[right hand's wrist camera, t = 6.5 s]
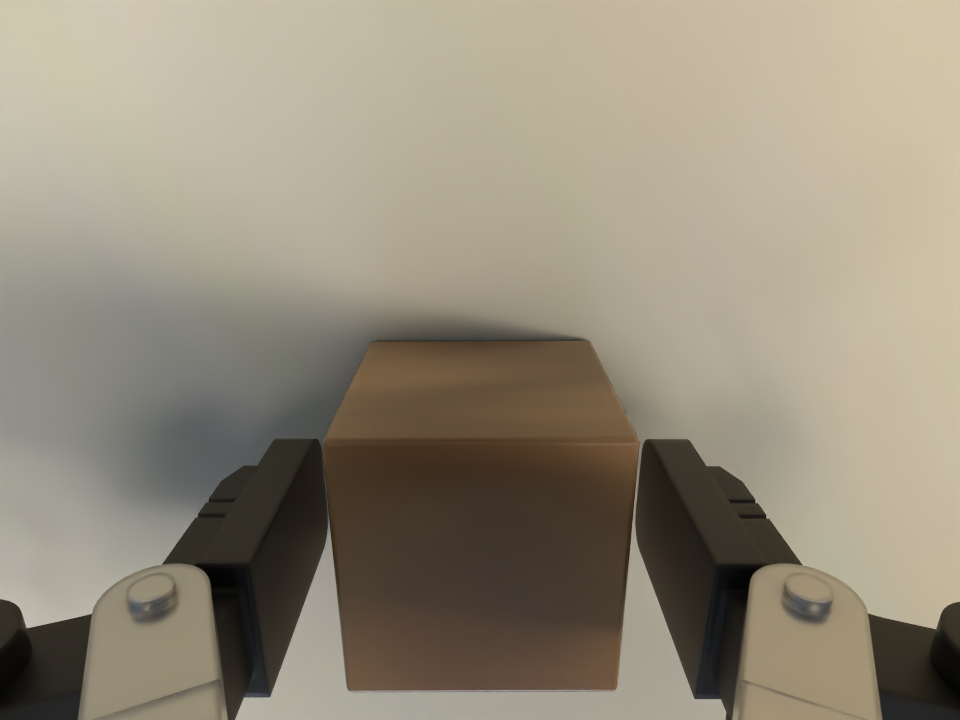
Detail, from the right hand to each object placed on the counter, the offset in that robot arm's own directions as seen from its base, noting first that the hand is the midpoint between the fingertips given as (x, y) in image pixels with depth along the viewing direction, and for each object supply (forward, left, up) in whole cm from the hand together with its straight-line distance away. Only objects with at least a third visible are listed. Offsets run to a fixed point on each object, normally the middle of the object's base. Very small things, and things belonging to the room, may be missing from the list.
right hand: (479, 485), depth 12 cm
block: (0, 0, -2) cm, 2 cm away
